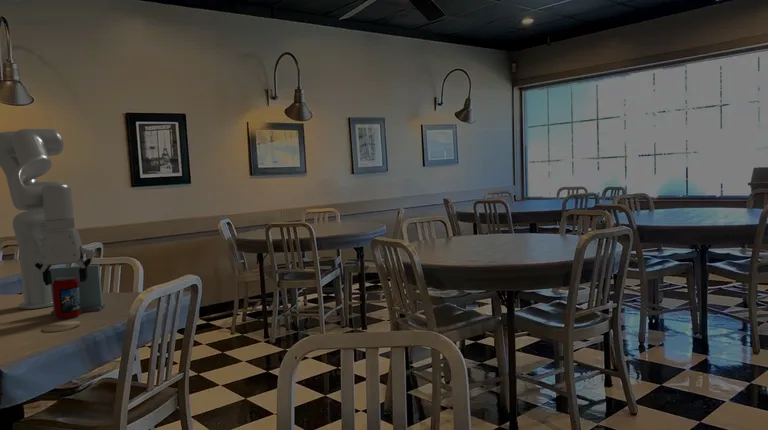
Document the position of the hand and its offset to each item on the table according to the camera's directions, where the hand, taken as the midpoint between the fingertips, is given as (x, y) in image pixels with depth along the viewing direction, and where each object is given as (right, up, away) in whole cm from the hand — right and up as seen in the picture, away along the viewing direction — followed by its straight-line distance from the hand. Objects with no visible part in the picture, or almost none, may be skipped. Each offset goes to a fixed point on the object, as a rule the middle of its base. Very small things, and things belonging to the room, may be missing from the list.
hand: (66, 282), depth 167 cm
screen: (-1, -10, +9) cm, 14 cm away
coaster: (+5, -11, -11) cm, 16 cm away
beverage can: (0, -11, +1) cm, 11 cm away
